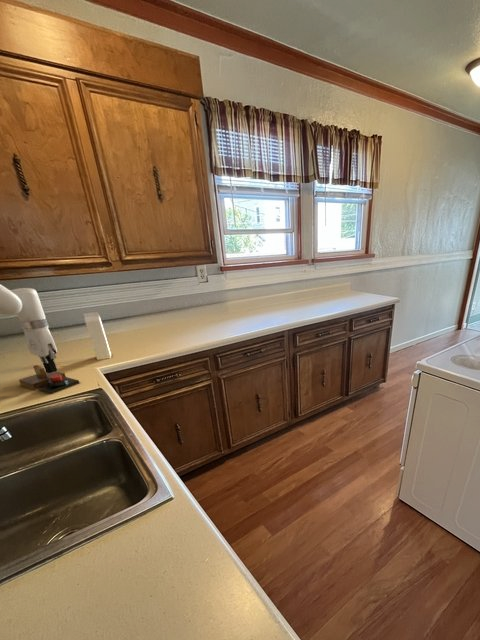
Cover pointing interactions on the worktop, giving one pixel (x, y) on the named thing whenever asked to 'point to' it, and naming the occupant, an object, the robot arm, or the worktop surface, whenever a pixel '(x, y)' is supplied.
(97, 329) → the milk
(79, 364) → the worktop surface
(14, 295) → the robot arm
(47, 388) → the button block
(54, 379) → the button
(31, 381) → the lock plate
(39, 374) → the brown rectangular block
